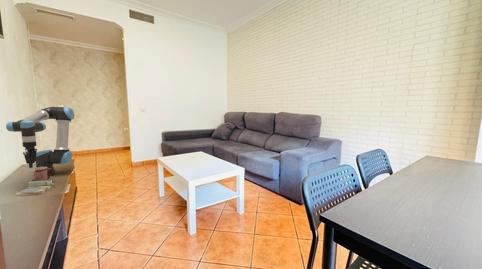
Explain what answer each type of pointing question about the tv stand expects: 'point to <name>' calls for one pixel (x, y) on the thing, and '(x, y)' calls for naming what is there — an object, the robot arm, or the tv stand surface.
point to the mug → (42, 173)
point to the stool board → (43, 189)
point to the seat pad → (30, 189)
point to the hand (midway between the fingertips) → (32, 171)
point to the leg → (40, 183)
